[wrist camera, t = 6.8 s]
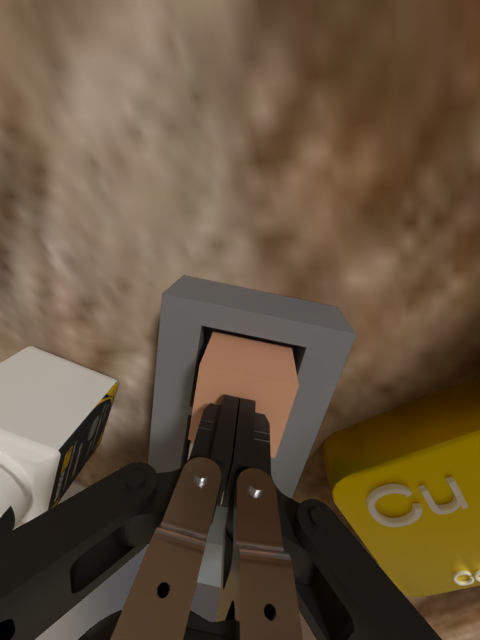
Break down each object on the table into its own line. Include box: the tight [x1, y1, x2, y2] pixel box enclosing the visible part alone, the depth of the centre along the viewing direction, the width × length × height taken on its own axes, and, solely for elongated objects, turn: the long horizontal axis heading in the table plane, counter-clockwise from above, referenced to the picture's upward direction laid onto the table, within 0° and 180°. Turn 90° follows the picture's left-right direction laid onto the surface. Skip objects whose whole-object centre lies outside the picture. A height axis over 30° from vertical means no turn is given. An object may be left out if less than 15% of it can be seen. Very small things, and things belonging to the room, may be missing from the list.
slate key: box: [197, 504, 228, 587], centre depth 19 cm, size 4×4×4 cm
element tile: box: [322, 376, 480, 597], centre depth 20 cm, size 15×15×5 cm
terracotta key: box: [188, 331, 299, 458], centre depth 15 cm, size 4×4×4 cm
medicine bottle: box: [0, 346, 118, 538], centre depth 17 cm, size 7×7×12 cm
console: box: [148, 275, 357, 499], centre depth 20 cm, size 10×20×4 cm, turn 169°
